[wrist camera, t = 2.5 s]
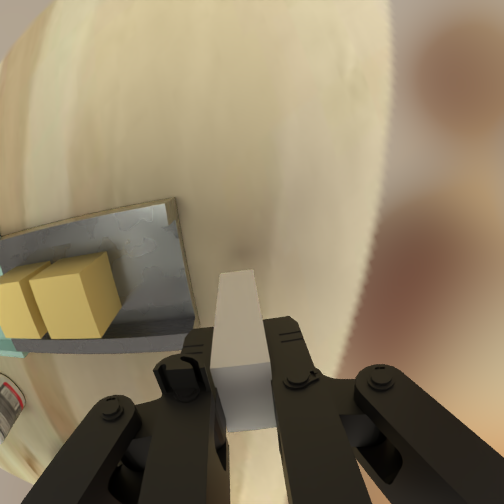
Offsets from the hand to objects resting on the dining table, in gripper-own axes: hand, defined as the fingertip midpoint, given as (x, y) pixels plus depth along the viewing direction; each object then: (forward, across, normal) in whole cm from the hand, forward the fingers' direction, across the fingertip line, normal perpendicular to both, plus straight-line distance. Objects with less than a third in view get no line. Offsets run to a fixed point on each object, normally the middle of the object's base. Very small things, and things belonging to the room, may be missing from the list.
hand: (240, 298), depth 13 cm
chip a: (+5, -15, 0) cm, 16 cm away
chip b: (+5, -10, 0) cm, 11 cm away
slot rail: (+6, -11, 0) cm, 13 cm away
